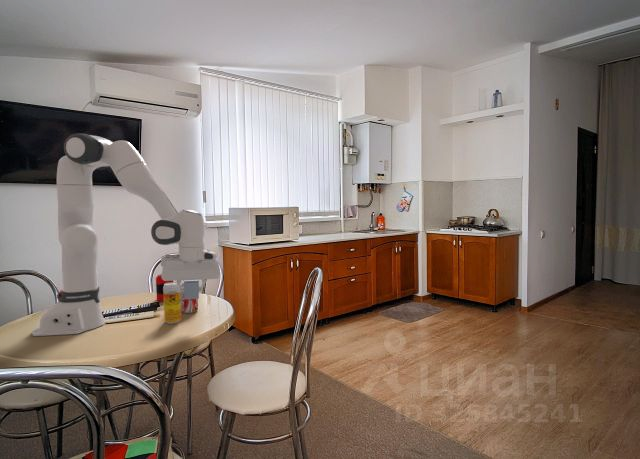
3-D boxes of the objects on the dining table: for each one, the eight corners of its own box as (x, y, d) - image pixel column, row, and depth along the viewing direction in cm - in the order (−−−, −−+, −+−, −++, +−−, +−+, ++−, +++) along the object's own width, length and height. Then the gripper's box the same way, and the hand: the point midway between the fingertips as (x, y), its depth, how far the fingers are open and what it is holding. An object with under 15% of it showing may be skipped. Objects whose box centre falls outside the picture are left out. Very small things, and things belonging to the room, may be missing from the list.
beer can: (166, 325, 142) (164, 286, 141) (163, 321, 147) (161, 283, 146) (183, 322, 145) (181, 284, 144) (179, 318, 150) (178, 281, 149)
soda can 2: (195, 314, 156) (193, 285, 155) (178, 314, 156) (176, 285, 155) (200, 309, 163) (199, 281, 162) (184, 309, 163) (183, 281, 162)
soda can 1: (176, 297, 183) (175, 273, 182) (168, 301, 175) (167, 276, 174) (162, 297, 184) (161, 273, 183) (153, 301, 176) (152, 276, 175)
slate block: (184, 299, 136) (184, 282, 135) (184, 296, 140) (184, 280, 140) (198, 298, 137) (198, 282, 137) (198, 295, 142) (198, 279, 142)
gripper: (160, 256, 132) (160, 295, 133) (220, 254, 138) (220, 292, 139) (161, 253, 138) (161, 291, 139) (219, 252, 144) (219, 288, 145)
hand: (191, 291), depth 139 cm, fingers closed on slate block, 5 cm apart
